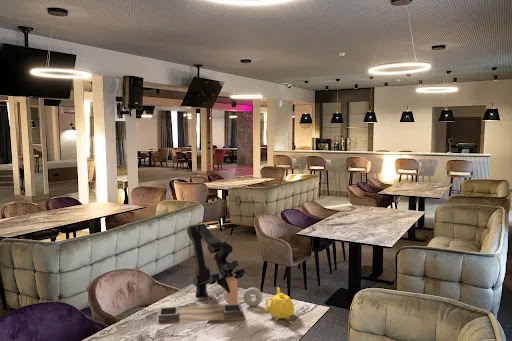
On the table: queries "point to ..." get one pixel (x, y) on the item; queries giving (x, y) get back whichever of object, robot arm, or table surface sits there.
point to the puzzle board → (201, 314)
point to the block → (232, 291)
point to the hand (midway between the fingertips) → (233, 291)
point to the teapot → (280, 306)
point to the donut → (250, 301)
